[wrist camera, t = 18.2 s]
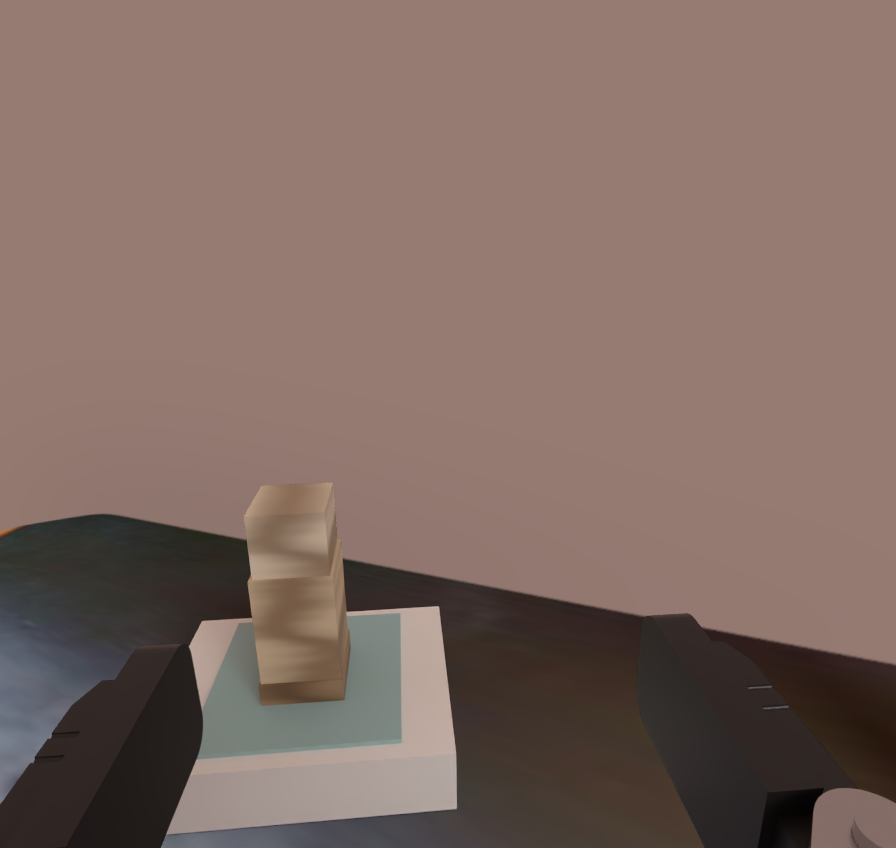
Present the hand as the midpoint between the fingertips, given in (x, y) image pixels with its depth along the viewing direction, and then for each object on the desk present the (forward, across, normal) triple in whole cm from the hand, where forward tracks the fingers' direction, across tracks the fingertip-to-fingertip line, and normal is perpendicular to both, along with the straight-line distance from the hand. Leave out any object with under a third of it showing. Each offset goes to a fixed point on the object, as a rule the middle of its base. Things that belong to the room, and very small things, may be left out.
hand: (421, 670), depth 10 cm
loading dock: (+24, +8, +24) cm, 34 cm away
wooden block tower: (+24, +8, +20) cm, 32 cm away
